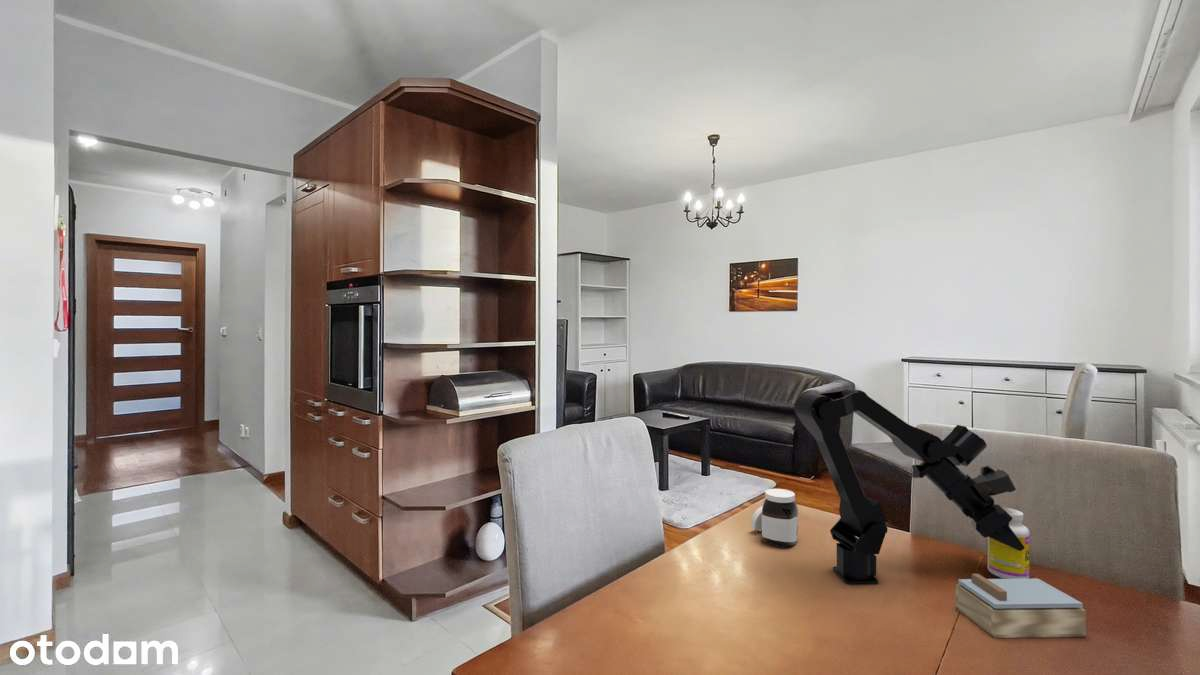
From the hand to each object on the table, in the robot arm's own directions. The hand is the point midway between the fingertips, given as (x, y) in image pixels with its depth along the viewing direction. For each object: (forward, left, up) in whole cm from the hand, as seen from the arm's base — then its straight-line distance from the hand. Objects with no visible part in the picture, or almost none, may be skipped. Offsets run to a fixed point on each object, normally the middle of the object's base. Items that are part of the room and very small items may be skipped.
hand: (1016, 542), depth 103 cm
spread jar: (-41, +23, -8) cm, 48 cm away
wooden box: (-12, -14, -8) cm, 20 cm away
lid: (-12, -14, -3) cm, 19 cm away
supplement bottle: (-1, 0, -7) cm, 7 cm away
